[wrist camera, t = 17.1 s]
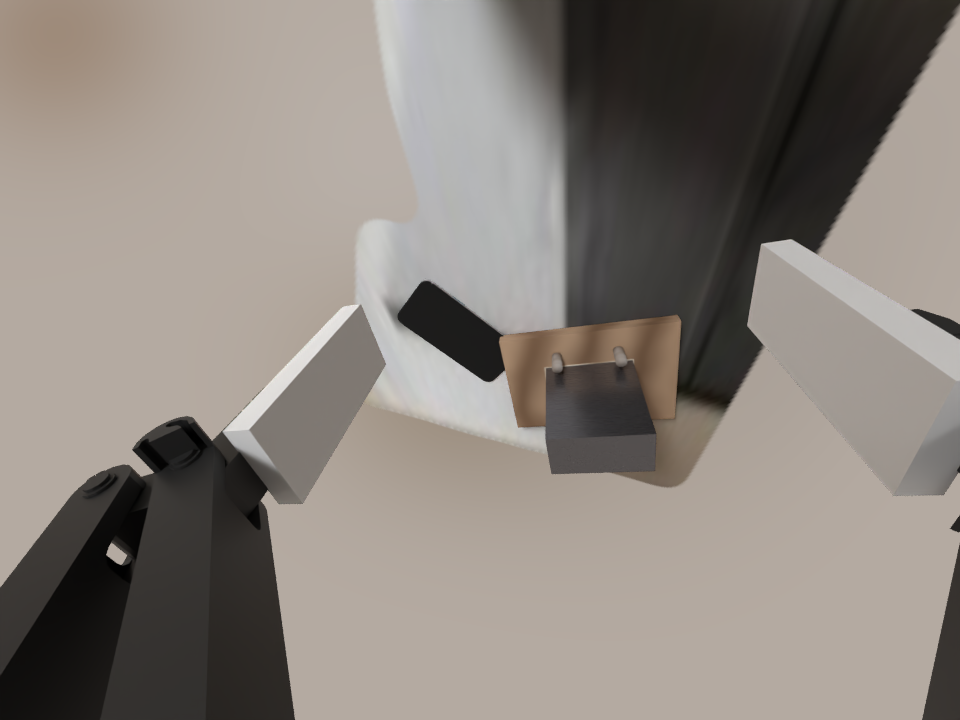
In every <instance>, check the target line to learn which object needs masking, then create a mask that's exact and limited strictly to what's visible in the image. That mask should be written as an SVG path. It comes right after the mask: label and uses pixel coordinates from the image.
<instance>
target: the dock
mask: <svg viewBox="0 0 960 720" xmlns="http://www.w3.org/2000/svg"><path fill="white" fill-rule="evenodd" d="M680 333H681V320H680V318H679V317H678V315H673V316H664V317H655V318H647V319H638V320H630V321H621V322H613V323H604V324H596V325H587V326H579V327H570V328H562V329H553V330H545V331H536V332H527V333H519V334H510V335H504V336H503V337H500V340H499V344H500V348H501V353H502V357H503V362H504V366H505V371H506V375H507V380H508V384H509V389H510V393H511V398H512V402H513V407H514V411H515V416H516V420H517V425H518V428H519V427H535V426H546V368H552V371H553V372H555V373H560V372H561V371H562V369H563V367H564V366H575V365H585V364H596V363H607V362H616V365H617V366H618V367H624V366H626V365H627V361H628V360H633V363H634V366H635V369H636V372H637V375H638V378H639V382H640V385H641V388H642V391H643V394H644V397H645V400H646V403H647V407H648V410H649V413H650V416H651V419H652V420H654V419H671V418H675V406H676V391H677V377H678V362H679V347H680Z"/></svg>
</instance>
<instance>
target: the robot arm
mask: <svg viewBox="0 0 960 720" xmlns="http://www.w3.org/2000/svg"><path fill="white" fill-rule="evenodd" d="M747 326H748V327H749V328H750V330H751V331H752V332H753V333H754V334H755V335H756V337H757V338H758V339H759V340H760V341H761V342H762V344H763V345H764V346H765V347H766V348H767V349H768V351H769V352H770V353H771V354H772V355H773V356H774V357H775V359H776V360H777V361H778V362H779V363H780V364H781V366H782V367H783V368H784V369H785V370H786V371H787V373H788V374H789V375H790V376H791V377H792V378H793V380H794V381H796V383H797V384H798V385H799V387H800V388H801V389H802V390H803V391H804V392H805V394H806V395H807V396H808V397H809V398H810V399H811V400H812V402H813V403H814V404H815V405H816V406H817V407H818V409H819V410H820V411H821V412H822V413H823V414H824V415H825V417H826V418H827V419H828V420H829V421H830V423H831V424H832V425H833V426H834V427H835V428H836V429H837V431H838V432H839V433H840V434H841V435H842V436H843V438H844V439H845V440H846V441H847V442H848V443H849V445H850V446H851V447H852V448H853V449H854V450H855V452H856V453H857V454H858V455H859V456H860V457H861V459H862V460H863V461H864V462H865V463H866V464H867V466H868V467H869V468H870V469H871V470H872V471H873V473H874V474H875V475H876V476H877V477H878V478H879V480H880V481H881V482H882V483H883V484H884V485H885V487H886V488H887V489H888V490H889V491H890V492H891V493H892V495H893V496H910V495H911V496H913V495H944V494H945V492H946V491H947V489H948V488H949V486H950V485H951V483H952V481H953V480H954V479H955V477H956V475H957V474H958V472H959V473H960V324H958V323H956V322H954V321H952V320H951V319H948V318H945V317H942V316H939V315H936V314H932V313H929V312H926V311H923V310H920V309H914V310H909V309H907V308H906V307H904V306H902V305H900V304H899V303H897V302H895V301H894V300H892V299H891V298H889V297H887V296H885V295H884V294H882V293H880V292H879V291H877V290H875V289H874V288H872V287H870V286H869V285H867V284H865V283H864V282H862V281H860V280H859V279H857V278H855V277H854V276H852V275H850V274H849V273H847V272H845V271H844V270H842V269H840V268H839V267H837V266H835V265H834V264H832V263H830V262H829V261H827V260H825V259H824V258H822V257H820V256H819V255H817V254H815V253H814V252H812V251H810V250H808V249H807V248H805V247H803V246H802V245H800V244H798V243H797V242H795V241H793V240H792V239H790V240H784V241H777V242H770V243H764V244H761V248H760V254H759V260H758V265H757V271H756V277H755V283H754V289H753V294H752V300H751V306H750V312H749V318H748V324H747ZM385 365H386V363H385V361H384V358H383V356H382V353H381V351H380V349H379V346H378V344H377V342H376V339H375V337H374V334H373V332H372V330H371V327H370V325H369V322H368V320H367V318H366V315H365V313H364V311H363V308H362V306H361V304H357V305H351V306H344V307H342V308H341V309H340V310H339V311H338V312H337V313H336V314H335V315H334V316H333V317H332V318H331V319H330V320H329V321H328V323H327V324H326V325H325V326H324V327H323V328H322V329H321V330H320V331H319V332H318V333H317V334H316V335H315V336H314V337H313V338H312V339H311V340H310V341H309V342H308V343H307V344H306V345H305V346H304V347H303V348H302V350H301V351H300V352H299V353H298V354H297V355H296V356H295V357H294V358H293V359H292V360H291V361H290V362H289V363H288V364H287V365H286V366H285V367H284V368H283V369H282V370H281V371H280V372H279V373H278V375H276V377H275V378H274V379H273V380H272V381H271V382H270V383H269V384H268V385H267V386H266V387H264V388H263V389H262V390H261V391H260V392H259V393H258V394H257V395H256V396H255V397H254V398H253V400H252V401H251V402H250V403H249V404H248V405H247V406H246V407H245V408H244V410H243V411H241V412H240V413H239V414H238V415H237V416H236V417H235V418H234V419H233V420H232V421H231V423H229V424H228V425H227V427H225V428H224V429H223V431H221V433H220V434H219V435H218V436H217V437H216V438H215V439H214V440H213V441H211V439H210V438H209V437H208V436H207V434H206V433H205V432H204V431H203V429H202V428H201V427H200V426H199V425H198V423H197V422H196V421H195V420H194V418H192V417H188V416H186V417H180V418H176V419H173V420H171V421H168V422H166V423H164V424H162V425H160V426H158V427H156V428H155V429H153V430H152V431H150V432H149V433H147V434H146V435H145V436H144V437H142V438H141V439H140V441H138V442H137V443H136V445H135V446H134V448H133V449H132V450H133V451H134V452H135V453H136V454H137V455H138V456H139V457H140V458H141V459H142V460H143V461H144V462H145V463H146V464H147V466H149V468H150V469H151V470H152V471H153V472H154V473H153V474H150V475H146V476H143V477H141V476H140V475H139V474H138V473H137V472H136V471H135V470H134V469H133V468H132V467H131V466H129V465H120V466H116V467H112V468H110V469H108V470H106V471H102V472H100V473H98V474H96V476H95V475H94V476H93V477H91V478H89V479H88V480H87V481H86V483H85V484H83V485H82V486H81V487H80V488H78V490H77V491H75V492H74V494H73V495H72V496H71V497H70V498H69V499H68V501H67V502H66V503H65V505H64V506H63V507H62V508H61V510H60V511H59V512H58V514H57V515H56V516H55V518H54V519H53V520H52V521H51V523H50V524H49V525H48V527H47V528H46V530H45V531H44V532H43V533H42V534H41V536H40V537H39V538H38V540H37V541H36V542H35V543H34V545H33V546H32V547H31V549H30V550H29V551H28V553H27V554H26V555H25V556H24V558H23V559H22V560H21V562H20V563H19V564H18V565H17V567H16V568H15V570H14V571H13V572H12V573H11V575H10V576H9V577H8V578H7V580H6V581H5V582H4V584H3V585H2V586H1V588H0V720H295V717H294V709H293V702H292V695H291V687H290V680H289V672H288V665H287V657H286V650H285V642H284V635H283V627H282V620H281V612H280V605H279V598H278V590H277V583H276V575H275V568H274V560H273V553H272V545H271V539H270V530H269V523H268V516H267V510H266V508H265V506H264V504H263V503H262V502H261V501H260V500H261V499H262V497H263V496H264V495H265V493H266V492H267V490H268V491H269V492H270V493H271V495H272V496H273V497H274V499H275V500H276V501H277V502H278V503H279V504H303V502H304V501H305V499H306V497H307V496H308V494H309V492H310V490H311V489H312V487H313V486H314V484H315V482H316V481H317V479H318V477H319V476H320V474H321V472H322V471H323V469H324V467H325V466H326V464H327V462H328V461H329V459H330V457H331V456H332V454H333V452H334V451H335V449H336V447H337V446H338V444H339V442H340V441H341V439H342V437H343V436H344V434H345V432H346V430H347V429H348V427H349V425H350V424H351V422H352V420H353V419H354V417H355V415H356V414H357V412H358V410H359V409H360V407H361V405H362V404H363V402H364V400H365V399H366V397H367V395H368V394H369V392H370V390H371V389H372V387H373V385H374V384H375V382H376V380H377V379H378V377H379V375H380V374H381V372H382V370H383V369H384V367H385ZM950 529H952V530H954V531H957V532H960V516H959V517H958V518H957V520H956V521H955V523H954V524H953V525H952V527H951V528H950ZM111 542H112V543H113V544H114V545H116V546H117V547H118V548H119V549H120V550H122V551H123V552H124V553H126V554H127V557H126V559H125V561H124V563H123V564H122V565H119V564H117V563H116V562H114V561H113V560H112V559H110V558H109V557H108V556H106V554H107V550H108V547H109V545H110V544H111ZM922 720H960V545H959V549H958V554H957V559H956V564H955V568H954V573H953V578H952V582H951V587H950V592H949V597H948V601H947V606H946V611H945V615H944V620H943V625H942V629H941V634H940V639H939V643H938V648H937V653H936V657H935V662H934V667H933V672H932V676H931V681H930V686H929V690H928V695H927V700H926V704H925V709H924V714H923V719H922Z"/></svg>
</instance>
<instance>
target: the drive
mask: <svg viewBox="0 0 960 720" xmlns="http://www.w3.org/2000/svg"><path fill="white" fill-rule="evenodd" d="M546 445H547V451H548V457H549V462H550V468H551V473H552V474H569V473H603V472H638V471H655V456H656V432H655V429H654V425H653V422H652V419H651V416H650V413H649V410H648V407H647V403H646V400H645V397H644V394H643V391H642V388H641V385H640V382H639V378H638V375H637V372H636V369H635V366H634V363H633V360H628V361H627V365H626V366H624V367H618V366H617V365H616V362H607V363H596V364H585V365H575V366H564V367H563V369H562V371H561V372H560V373H555V372H553V371H552V368H546Z"/></svg>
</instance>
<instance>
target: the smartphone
mask: <svg viewBox="0 0 960 720" xmlns="http://www.w3.org/2000/svg"><path fill="white" fill-rule="evenodd" d="M398 320H399V321H400V323H402V324H403V325H404V326H406V327H407V328H409V329H410V330H412V331H413V332H414V333H416V334H417V335H419V336H420V337H422V338H423V339H424V340H426V341H427V342H429V343H430V344H432V345H433V346H435V347H436V348H437V349H439V350H440V351H442V352H443V353H445V354H446V355H447V356H449V357H450V358H452V359H453V360H455V361H456V362H457V363H459V364H460V365H462V366H463V367H465V368H466V369H468V370H469V371H470V372H472V373H473V374H475V375H476V376H478V377H479V378H480V379H482V380H483V381H486V382H490V381H493V380H494V379H495V378H496V377H497V376H498V375H499V374H501V373H502V372H503V371H504V370H505V366H504V362H503V357H502V353H501V348H500V344H499V340H500V337H503V336H504V335H503V334H502V333H501V332H499V331H498V330H497V329H495V328H494V327H493V326H491V325H490V324H489V323H487V322H486V321H485V320H483V319H482V318H481V317H479V316H478V315H477V314H475V313H474V312H473V311H471V310H470V309H469V308H467V307H466V306H465V305H464V304H462V303H461V302H460V301H458V300H457V299H456V298H454V297H453V296H451V295H450V294H449V293H447V292H446V291H445V290H444V289H442V288H441V287H440V286H438V285H437V284H436V283H434V282H433V281H431V280H423V281H422V282H421V283H420V284H419V286H418V287H417V288H416V290H415V291H414V292H413V294H412V295H411V297H410V298H409V299H408V301H407V302H406V303H405V305H404V306H403V307H402V309H401V310H400V312H399V313H398Z"/></svg>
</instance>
